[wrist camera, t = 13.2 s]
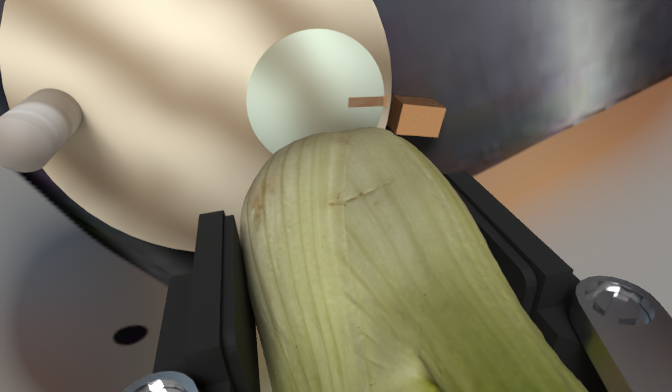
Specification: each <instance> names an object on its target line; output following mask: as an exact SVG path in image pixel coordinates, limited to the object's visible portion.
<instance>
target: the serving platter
mask: <svg viewBox="0 0 672 392" xmlns="http://www.w3.org/2000/svg"><path fill="white" fill-rule="evenodd" d="M0 67H1V74H2V81H3V88H4V91H5V94H6V98H7V101H8V104H9V108H10V110H9V111H8V112H6V113H5V114H4V115H2V116H1V117H0V165H1V166H3V167H5V168H7V169H9V170H13V171H17V172H32V171H36V170H39V169H41V168H43V169H44V171H45V172H46V173H47V174H48V176H49V177H50V178H51V179H52V180H53V181H54V182H55V183H56V184H57V185H58V186H59V187H60V188H61V189H62V190H63V191H64V192H65V193H66V194H67V195H68V196H69V197H70V198H71V199H72V200H74V201H75V202H76V203H77V204H79V205H80V206H81V207H83V208H84V209H85V210H86V211H88V212H89V213H90V214H92V215H94V216H95V217H97V218H99V219H100V220H102V221H103V222H105V223H107V224H108V225H110V226H112V227H114V228H116V229H118V230H120V231H122V232H124V233H126V234H128V235H131V236H133V237H136V238H139V239H142V240H144V241H147V242H150V243H153V244H157V245H161V246H165V247H169V248H173V249H180V250H187V251H193V252H195V246H196V237H197V228H198V220H199V214H203V213H209V212H215V211H221V210H224V212H225V215H226V216H228V215H234V217H235V221H236V226H237V230H238V235H239V234H240V219H241V212H242V207H243V202H244V200H245V196H246V194H247V192H248V190H249V188H250V186H251V184H252V182H253V180H254V179H255V177H256V176H257V174H258V173H259V171H260V170H261V168H262V167H263V165H264V164H265V163H266V162H267V161H268V159H269V158H270V157H271V156H272V155H273V154H274V153H275V152H277V151H278V150H279V149H281V148H283V147H284V146H286V145H288V144H290V143H292V142H293V141H296V140H298V139H301V138H304V137H307V136H309V135H312V134H317V133H322V132H340V131H345V130H350V129H356V128H361V127H366V128H367V127H378V128H383V129H385V128H386V124H387V121H388V115H389V109H390V103H391V86H392V75H391V63H390V54H389V49H388V44H387V40H386V35H385V31H384V28H383V25H382V23H381V20H380V17H379V14H378V11H377V8H376V6H375V4H374V2H373V0H6V1H5V4H4V10H3V16H2V21H1V27H0Z"/></svg>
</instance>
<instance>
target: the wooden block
mask: <svg viewBox="0 0 672 392" xmlns="http://www.w3.org/2000/svg"><path fill="white" fill-rule="evenodd" d="M445 111H446V108H445V107H444V106H442V105H441V104H439V103H438V102H437V101H435V100H434V99H428V98H418V97H409V96H399V95H392V99H391V103H390V109H389V115H388V121H387V125H388V126H389V127H390V128H391V129H392V131H393V132H394V133H395V134H399V135H412V136H425V137H438V135H439V131H440V128H441V124H442V121H443V118H444V114H445Z"/></svg>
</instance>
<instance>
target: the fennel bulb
mask: <svg viewBox="0 0 672 392" xmlns="http://www.w3.org/2000/svg"><path fill="white" fill-rule="evenodd" d="M239 239H240V243H241V248H242V254H243V261H244V266H245V273H246V281H247V288H248V293H249V299H250V302H251V305H252V309H253V313H254V316H255V321H256V325H257V329H258V333H259V336H260V341H261V345H262V349H263V353H264V357H265V360H266V365H267V369H268V373H269V378H270V382H271V387H272V391H273V392H589V391H588V390H587V389H586V388H585V387H584V385H583V384H582V383H581V381H579V380H578V379H577V378H576V377H575V376H574V374H573V373H572V372H571V371H570V370H569V369H568V368H567V367H566V366H565V365H564V364H563V363H562V361H561V360H560V358H559V357H558V355H557V354H556V353H555V351H554V350H553V349H552V348H551V347H550V346H549V345H548V343H547V342H546V341H545V339H544V336H543V334H542V332H541V331H540V330H539V329H538V327H537V326H536V325H535V324H534V323H533V321H532V320H531V319H530V317H529V316H528V314H527V313H526V312H525V310H524V309H523V308H522V306H521V305H520V303H519V301H518V299H517V297H516V295H515V293H514V291H513V290H512V288H511V287H510V285H509V283H508V281H507V280H506V278H505V276H504V275H503V273H502V271H501V269H500V267H499V265H498V263H497V261H496V260H495V258H494V257H493V255H492V253H491V251H490V249H489V247H488V245H487V243H486V240H485V239H484V237H483V235H482V233H481V232H480V230H479V228H478V226H477V224H476V222H475V220H474V219H473V217H472V215H471V214H470V212H469V210H468V208H467V207H466V205H465V204H464V202H463V201H462V200H461V198H460V197H459V195H458V194H457V192H456V191H455V189H454V188H453V187H452V186H451V185H450V183H449V182H448V180H447V179H446V178H445V177H444V176H443V175H442V174H441V173H440V171H439V170H438V169H437V168H436V167H435V166H434V164H433V163H432V162H431V161H430V160H429V159H428V158H427V157H425V156H424V155H423V154H422V153H421V152H420V151H419V150H418V149H417V148H416V147H415V146H414V145H412V144H411V143H410V142H408V141H407V140H405V139H403V138H402V137H399V136H397V135H395V134H394V133H392V132H391V131H389V130H386V129H383V128H378V127H367V128H366V127H361V128H356V129H350V130H345V131H340V132H322V133H317V134H312V135H309V136H307V137H304V138H301V139H298V140H296V141H293V142H292V143H290V144H288V145H286V146H284V147H283V148H281V149H279V150H278V151H277V152H275V153H274V154H273V155H272V156H271V157H270V158H269V159H268V161H267V162H266V163H265V164H264V165H263V167H262V168H261V170H260V171H259V173H258V174H257V176H256V177H255V179H254V180H253V182H252V184H251V186H250V188H249V190H248V192H247V194H246V196H245V200H244V202H243V207H242V212H241V219H240V234H239Z"/></svg>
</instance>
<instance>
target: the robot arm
mask: <svg viewBox="0 0 672 392" xmlns="http://www.w3.org/2000/svg"><path fill="white" fill-rule="evenodd" d="M443 176H444V177H445V178H446V179H447V180H448V182H449V183H450V185H451V186H452V187H453V188H454V189H455V191H456V192H457V194H458V195H459V197H460V198H461V200H462V201H463V202H464V204H465V205H466V207H467V208H468V210H469V212H470V214H471V215H472V217H473V219H474V220H475V222H476V224H477V226H478V228H479V230H480V232H481V233H482V235H483V237H484V239H485V240H486V243H487V245H488V247H489V249H490V251H491V253H492V255H493V257H494V258H495V260H496V261H497V263H498V265H499V267H500V269H501V271H502V273H503V275H504V276H505V278H506V280H507V281H508V283H509V285H510V287H511V288H512V290H513V291H514V293H515V295H516V297H517V299H518V301H519V303H520V305H521V306H522V308H523V309H524V310H525V312H526V313H527V314H528V316H529V317H530V319H531V320H532V321H533V323H534V324H535V325H536V326H537V327H538V329H539V330H540V331H541V332H542V334H543V336H544V339H545V341H546V342H547V343H548V345H549V346H550V347H551V348H552V349H553V350H554V351H555V353H556V354H557V355H558V357H559V358H560V360H561V361H562V363H563V364H564V365H565V366H566V367H567V368H568V369H569V370H570V371H571V372H572V373H573V374H574V376H575V377H576V378H577V379H578V380H579V381H581V383H582V384H583V385H584V387H585V388H586V389H587V390H588V391H589V392H672V318H671V316H670V315H669V314H668V313H667V312H666V310H665V309H664V308H663V307H662V306H661V304H660V303H659V302H658V301H657V300H656V299H655V298H654V297H653V296H652V295H651V294H650V293H648V292H646V291H645V290H643V289H642V288H640V287H639V286H637V285H635V284H632V283H630V282H628V281H625V280H622V279H618V278H614V277H607V276H594V277H588V278H586V279H584V280H581V281H580V280H579V279H578V278H577V277H576V276H575V275H573V269H572V268H571V267H570V266H568V265H567V264H566V263H565V262H564V261H563V260H562V259H561V258H560V257H559V256H558V255H557V254H555V253H554V252H553V251H552V250H551V249H550V248H549V247H548V246H547V245H546V244H545V243H544V242H542V241H541V240H540V239H539V238H538V237H537V236H536V235H535V234H534V233H533V232H531V230H529V229H528V228H527V227H526V226H525V225H524V224H523V223H522V222H521V221H520V220H519V219H517V218H516V217H515V216H514V215H513V214H512V213H511V212H510V211H509V210H508V209H507V208H506V207H505V206H503V205H502V204H501V203H500V202H499V201H498V200H497V199H496V198H495V197H494V196H493V195H492V194H490V193H489V192H488V191H487V190H486V189H485V188H484V187H483V186H482V185H481V184H480V183H479V182H477V181H476V180H475V179H474V178H473V177H472V176H471V175H470V174H469V173H468V172H466V171H458V172H452V173H446V174H443ZM257 353H258V352H257V338H256V324H255V316H254V313H253V309H252V305H251V302H250V299H249V293H248V288H247V281H246V273H245V266H244V261H243V254H242V248H241V243H240V239H239V235H238V230H237V226H236V221H235V217H234V215H228V216H226V215H225V212H224V210H221V211H215V212H209V213H203V214H199V220H198V228H197V237H196V246H195V254H194V263H193V271H191V272H186V273H180V274H175V275H172V276H171V278H170V282H169V287H168V293H167V298H166V303H165V309H164V314H163V320H162V325H161V331H160V337H159V342H158V347H157V353H156V358H155V363H154V369H153V374H151V375H148V376H145V377H144V378H142V379H140V380H138V381H136V382H135V383H133V384H132V385H130V386H129V387H128V388H127V389H126V390H125V391H123V392H260V381H259V367H258V354H257Z"/></svg>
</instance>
